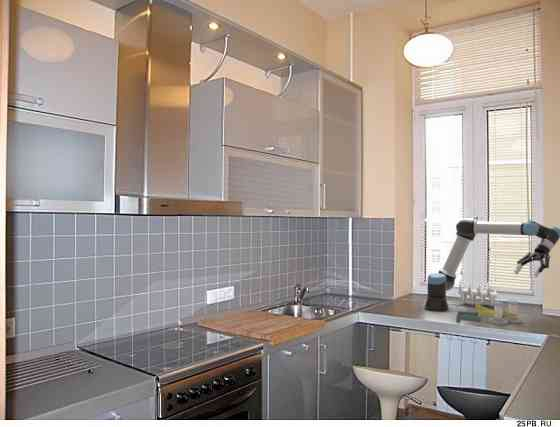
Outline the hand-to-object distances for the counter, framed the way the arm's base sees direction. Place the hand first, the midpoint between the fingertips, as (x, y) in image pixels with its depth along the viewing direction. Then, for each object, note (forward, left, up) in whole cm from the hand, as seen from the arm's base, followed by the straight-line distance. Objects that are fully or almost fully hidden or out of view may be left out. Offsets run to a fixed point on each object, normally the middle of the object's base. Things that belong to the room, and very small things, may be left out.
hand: (525, 274), depth 267 cm
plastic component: (-11, -18, -29) cm, 36 cm away
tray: (+7, -31, -29) cm, 43 cm away
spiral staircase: (-47, -26, -29) cm, 60 cm away
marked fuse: (+7, -7, -27) cm, 29 cm away
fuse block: (+10, -11, -29) cm, 32 cm away
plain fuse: (+14, -15, -27) cm, 34 cm away
